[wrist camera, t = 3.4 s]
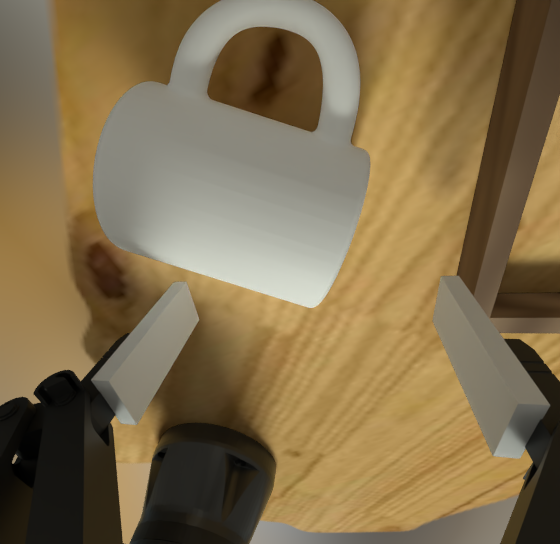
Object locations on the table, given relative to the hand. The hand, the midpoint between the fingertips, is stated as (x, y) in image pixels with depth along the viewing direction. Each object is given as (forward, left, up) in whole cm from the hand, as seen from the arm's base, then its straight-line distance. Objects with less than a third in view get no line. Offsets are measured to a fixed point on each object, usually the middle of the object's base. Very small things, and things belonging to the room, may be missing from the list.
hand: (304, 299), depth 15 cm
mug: (-2, +7, -6) cm, 9 cm away
